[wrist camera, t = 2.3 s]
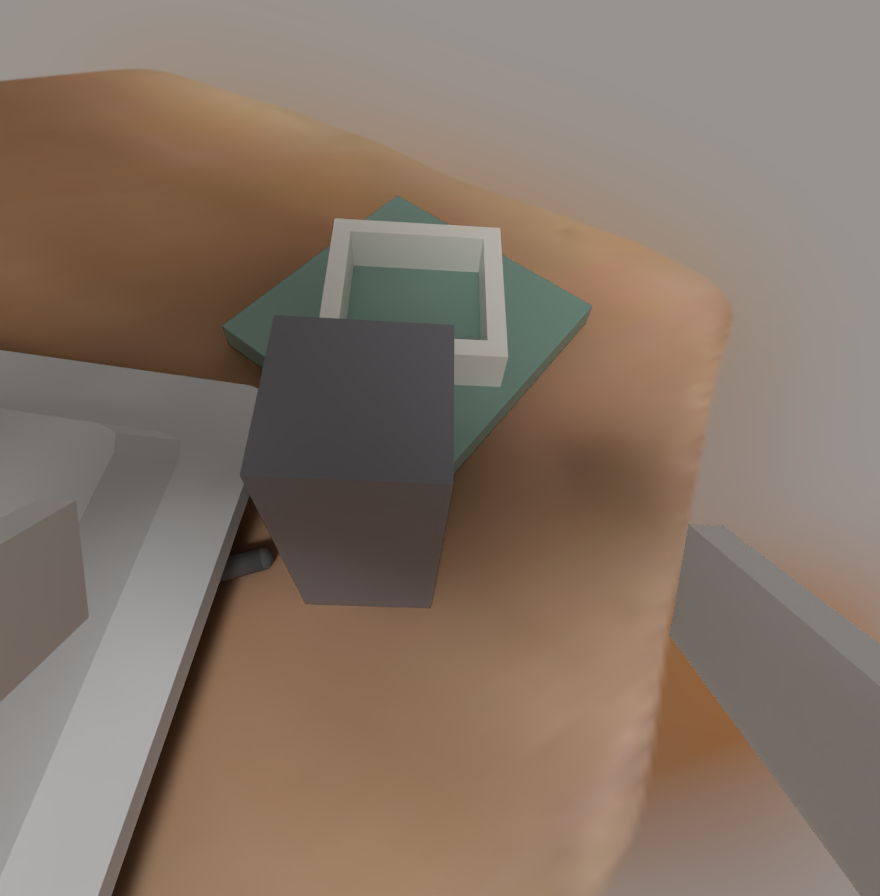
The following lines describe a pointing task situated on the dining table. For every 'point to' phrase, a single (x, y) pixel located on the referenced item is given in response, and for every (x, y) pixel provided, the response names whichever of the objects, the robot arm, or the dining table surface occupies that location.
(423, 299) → the header board
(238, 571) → the fan lead
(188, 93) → the dining table surface
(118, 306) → the dining table surface
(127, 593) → the ventilation fan
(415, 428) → the plug
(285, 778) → the dining table surface
